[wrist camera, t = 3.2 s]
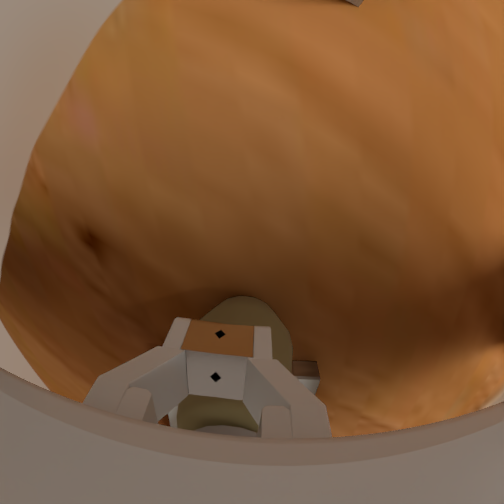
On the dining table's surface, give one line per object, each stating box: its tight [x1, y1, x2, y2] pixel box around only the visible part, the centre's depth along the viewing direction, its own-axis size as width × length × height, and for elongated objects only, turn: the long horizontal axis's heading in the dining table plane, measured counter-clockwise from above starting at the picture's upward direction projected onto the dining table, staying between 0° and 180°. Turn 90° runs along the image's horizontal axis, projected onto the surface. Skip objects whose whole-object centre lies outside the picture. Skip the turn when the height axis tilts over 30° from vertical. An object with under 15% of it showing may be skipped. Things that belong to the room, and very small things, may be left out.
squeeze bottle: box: [176, 296, 293, 437], centre depth 17 cm, size 8×8×18 cm
